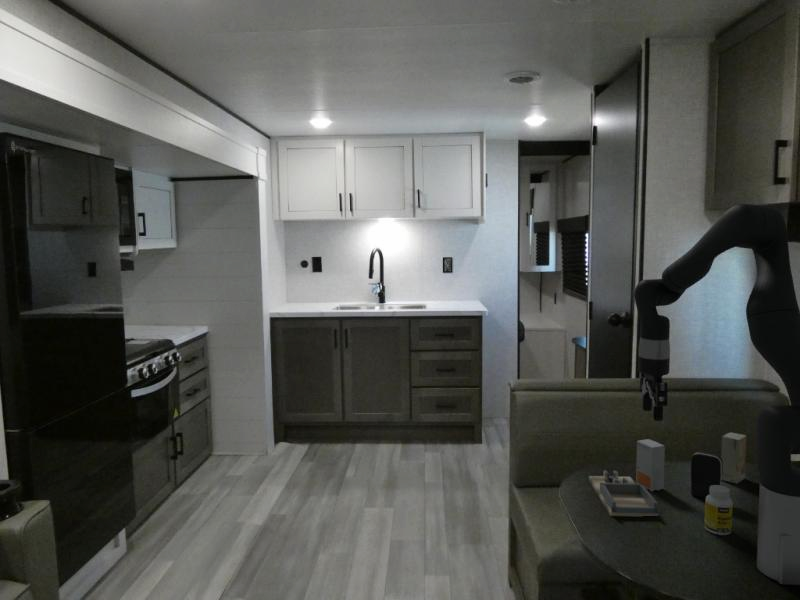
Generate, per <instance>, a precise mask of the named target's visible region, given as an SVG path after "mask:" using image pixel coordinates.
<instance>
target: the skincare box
mask: <svg viewBox="0 0 800 600" xmlns="http://www.w3.org/2000/svg"><path fill="white" fill-rule="evenodd" d="M665 449H666V446H665V445H664V444H662V443H659V442H658V441H654V440H652V439H650V438H649V439H648V438H646V439H641V440H637V441H636V469H635V471H636V476H635V479H636V480H635V483H642V484H643V486H644V487H645V488H646V489H647V490H648V489H649V490H648V491H650V492H655V491H654V490H657V491H662V490H661V489H663V490H665V487H664V486H665V455H666V454H665Z"/></svg>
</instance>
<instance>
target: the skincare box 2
mask: <svg viewBox="0 0 800 600" xmlns="http://www.w3.org/2000/svg"><path fill="white" fill-rule="evenodd" d="M746 453H747V435H746V434H740V433H735V432H727V433H726V434H724V435H723V436H721V455H720V457H721V458H722V461H723V475H722V478H721V481H726V482H729V483H733V484H737V485H738V484H739V483H740V482H742V481H743V480H744V479H745V478H746Z"/></svg>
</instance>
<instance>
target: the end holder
mask: <svg viewBox="0 0 800 600" xmlns="http://www.w3.org/2000/svg"><path fill="white" fill-rule="evenodd" d="M600 493H601V495H602V496H603V498H604V500H605V501H606V503H607V504H608V506H609V508H610V509H611V511H612V512H619V513H657V512H658V508H659V507H658V505H659V503H658V502H657V501H656V499H655V498H654V497H653V495H652V494H651V493H650V492H649V490H648V489H647V488H645V487H644V486H643V484H642V483H636V482H635V483H600ZM611 494H640V496H641V497H642V498H643V500H644V501H645V502H646V504H647V505H648V506H649V507H634V506H616V502H615V500H614V499H613V497H612V496H611Z"/></svg>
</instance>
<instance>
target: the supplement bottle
mask: <svg viewBox="0 0 800 600" xmlns="http://www.w3.org/2000/svg"><path fill="white" fill-rule="evenodd" d="M730 492H731V489H729V488H728V487H726V486H724V485H721V486H720V485H711V486H710V489H709V493H710V494H709V495H707V496H706V499H705V501H704V502H705V503H704V505H705V506H704V526H703V527H704V528H705V530H706V531H708V532H709V533H712V534H715V535H717V534H718V536H728V535H730V534H731V533H732V531H733V530H732V527H733V526H732V525H733V509H734V508H733V506H734V504H733V500H732V499H731V498H730V495H731V494H730Z"/></svg>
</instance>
